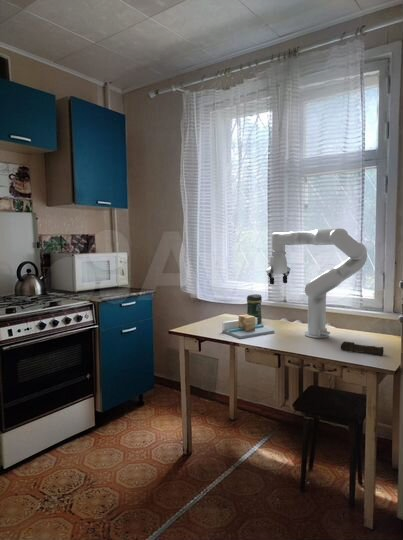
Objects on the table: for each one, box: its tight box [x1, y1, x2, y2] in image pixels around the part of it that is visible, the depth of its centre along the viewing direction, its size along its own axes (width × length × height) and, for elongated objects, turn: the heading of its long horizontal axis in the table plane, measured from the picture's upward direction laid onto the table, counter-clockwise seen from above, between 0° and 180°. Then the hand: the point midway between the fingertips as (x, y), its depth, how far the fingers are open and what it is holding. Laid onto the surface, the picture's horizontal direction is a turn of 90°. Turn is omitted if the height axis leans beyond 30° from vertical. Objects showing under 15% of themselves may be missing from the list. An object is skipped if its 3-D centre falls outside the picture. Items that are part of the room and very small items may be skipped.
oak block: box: [238, 313, 255, 332], centre depth 226 cm, size 8×6×8 cm
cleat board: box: [221, 317, 275, 340], centre depth 225 cm, size 18×24×6 cm
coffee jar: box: [246, 293, 263, 325], centre depth 249 cm, size 10×8×19 cm
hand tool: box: [340, 340, 385, 357], centre depth 184 cm, size 19×4×5 cm, turn 58°
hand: (278, 283), depth 223 cm, fingers open, 9 cm apart
